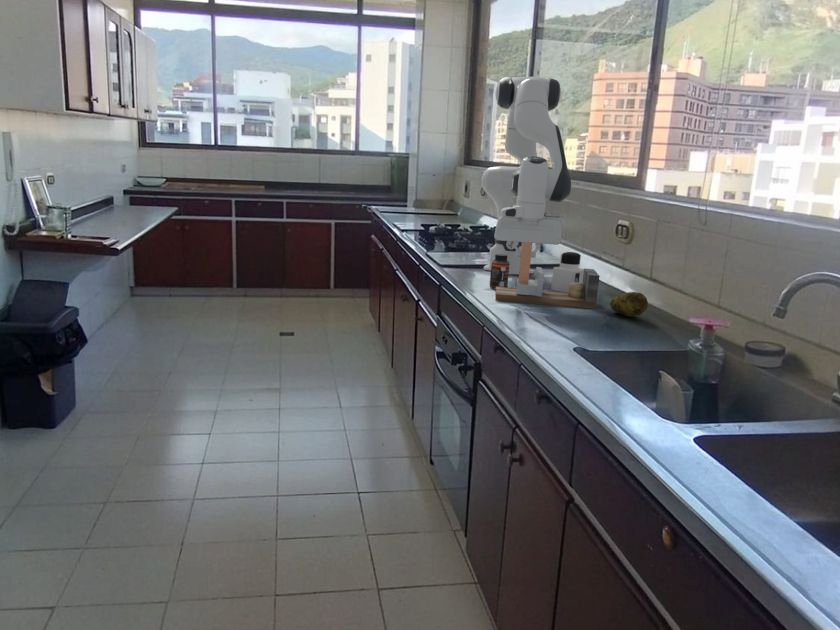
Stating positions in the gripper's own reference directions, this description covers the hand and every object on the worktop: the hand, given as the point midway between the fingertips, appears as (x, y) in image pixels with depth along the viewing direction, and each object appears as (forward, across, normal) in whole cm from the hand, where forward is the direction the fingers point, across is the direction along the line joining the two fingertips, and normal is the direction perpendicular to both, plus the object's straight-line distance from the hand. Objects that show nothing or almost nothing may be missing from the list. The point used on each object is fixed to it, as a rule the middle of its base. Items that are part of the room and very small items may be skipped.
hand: (525, 257), depth 207 cm
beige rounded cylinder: (+11, -16, 0) cm, 20 cm away
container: (+13, -16, -19) cm, 28 cm away
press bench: (+13, -7, 0) cm, 15 cm away
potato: (+13, -30, +14) cm, 36 cm away
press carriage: (+11, -2, 0) cm, 11 cm away
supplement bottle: (+13, +7, -14) cm, 21 cm away
